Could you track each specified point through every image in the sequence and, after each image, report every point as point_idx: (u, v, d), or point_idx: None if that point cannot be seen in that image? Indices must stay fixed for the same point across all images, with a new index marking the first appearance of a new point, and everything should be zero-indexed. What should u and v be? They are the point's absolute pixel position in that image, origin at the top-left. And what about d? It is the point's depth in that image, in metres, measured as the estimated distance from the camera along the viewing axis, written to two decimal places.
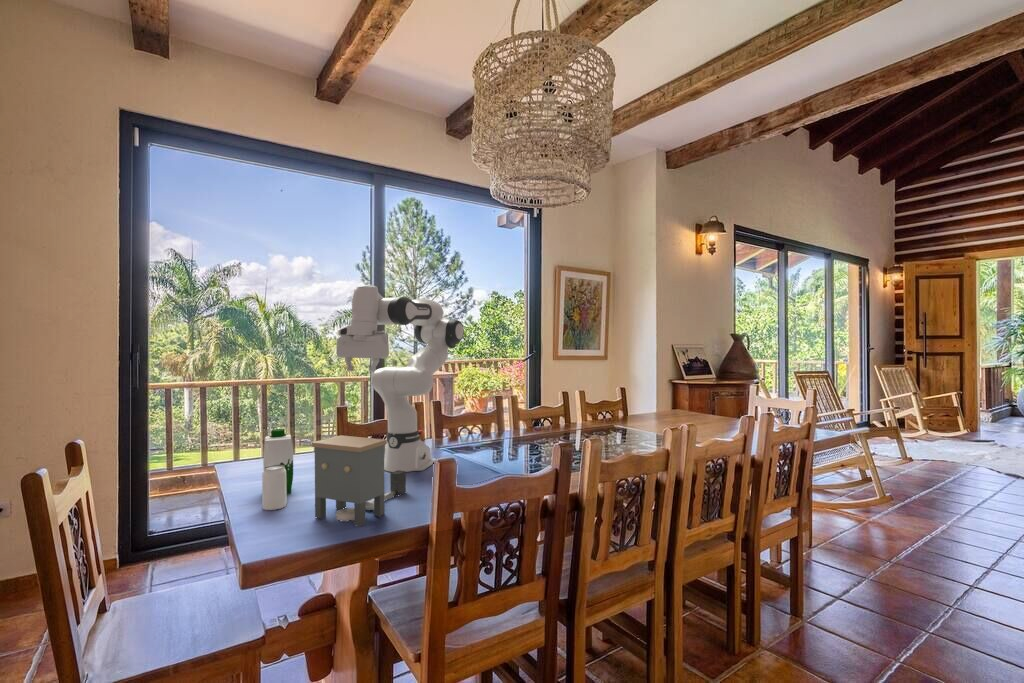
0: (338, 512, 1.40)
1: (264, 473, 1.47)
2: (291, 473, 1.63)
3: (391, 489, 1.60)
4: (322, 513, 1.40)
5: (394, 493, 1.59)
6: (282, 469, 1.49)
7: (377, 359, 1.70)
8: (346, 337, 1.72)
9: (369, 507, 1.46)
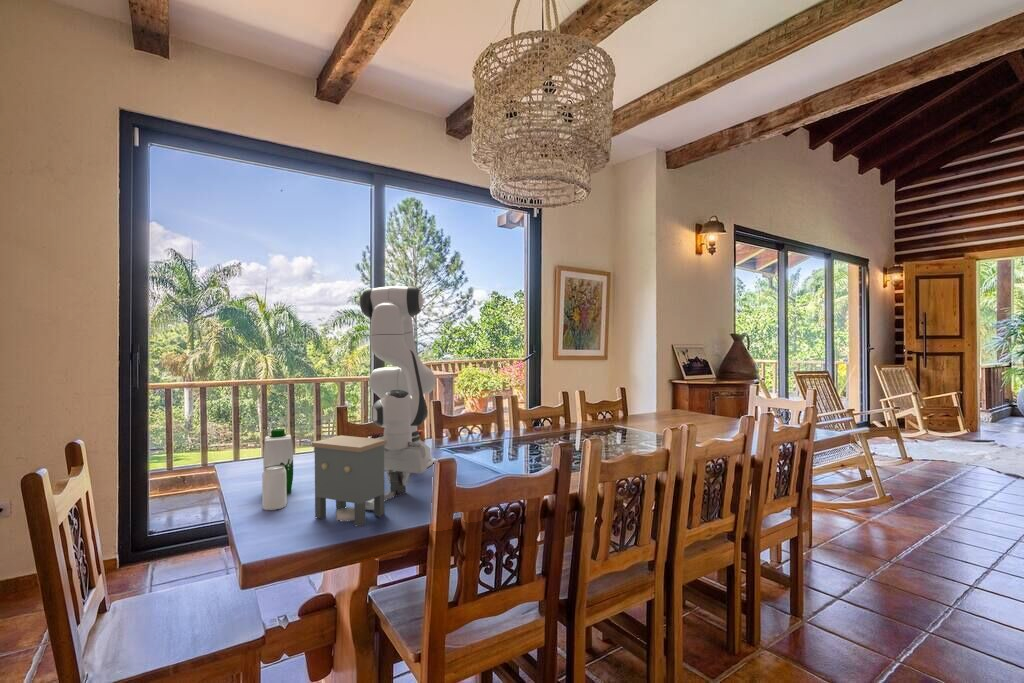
0: (338, 511, 1.40)
1: (264, 473, 1.47)
2: (291, 473, 1.63)
3: (391, 489, 1.60)
4: (322, 513, 1.40)
5: (394, 493, 1.59)
6: (282, 469, 1.49)
7: (408, 472, 1.60)
8: None
9: (369, 507, 1.46)
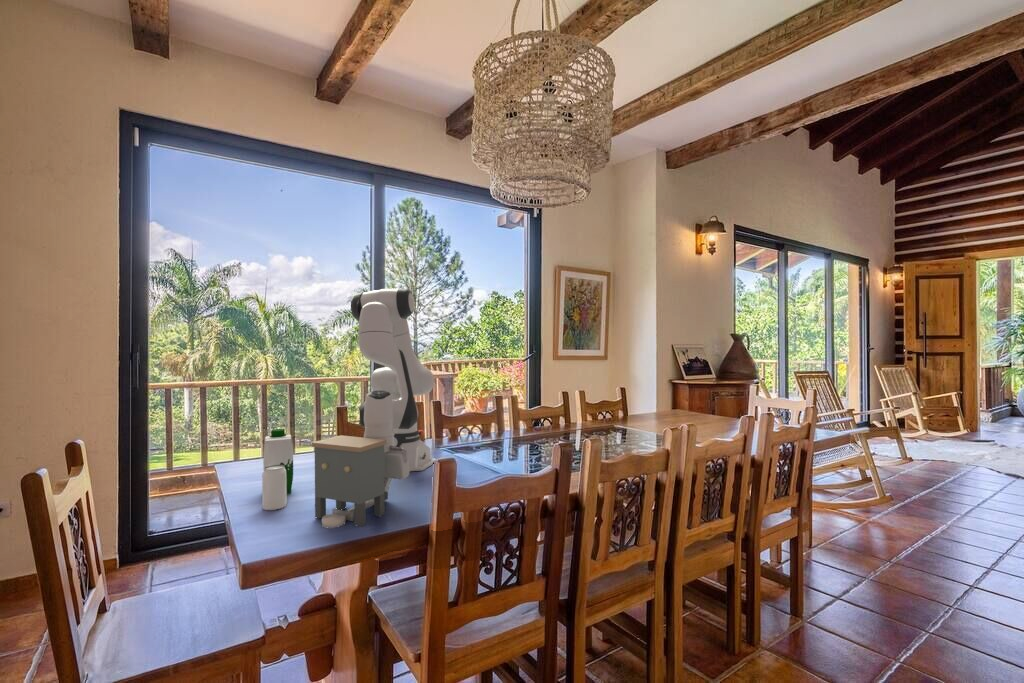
0: (324, 516, 1.36)
1: (264, 473, 1.47)
2: (291, 473, 1.63)
3: None
4: (322, 513, 1.40)
5: None
6: (282, 469, 1.49)
7: (390, 478, 1.51)
8: None
9: (347, 517, 1.38)
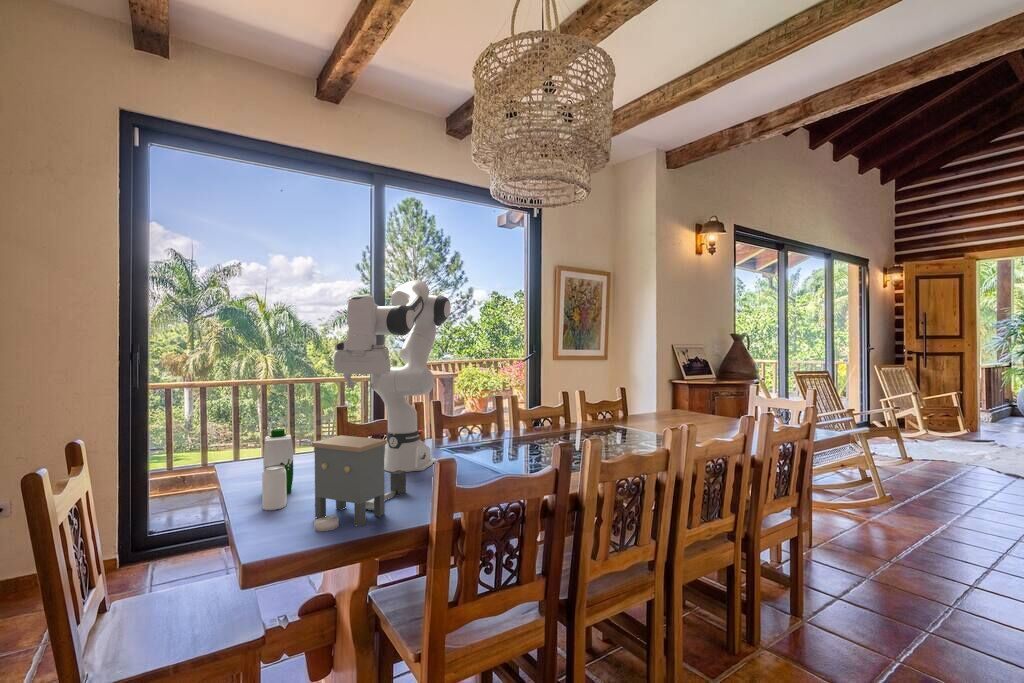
0: (316, 521, 1.32)
1: (264, 473, 1.47)
2: (291, 473, 1.63)
3: (391, 489, 1.60)
4: (322, 513, 1.40)
5: (394, 493, 1.59)
6: (282, 469, 1.49)
7: (378, 375, 1.58)
8: (343, 352, 1.60)
9: (369, 507, 1.46)
